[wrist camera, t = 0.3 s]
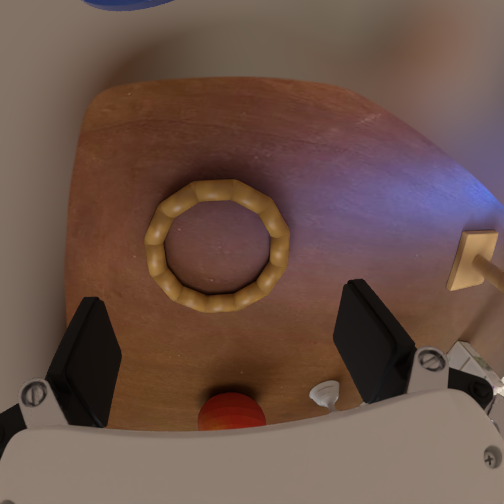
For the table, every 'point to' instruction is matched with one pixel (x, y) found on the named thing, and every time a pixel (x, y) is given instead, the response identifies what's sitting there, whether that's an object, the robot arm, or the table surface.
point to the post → (475, 261)
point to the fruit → (230, 413)
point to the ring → (216, 192)
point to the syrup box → (473, 364)
